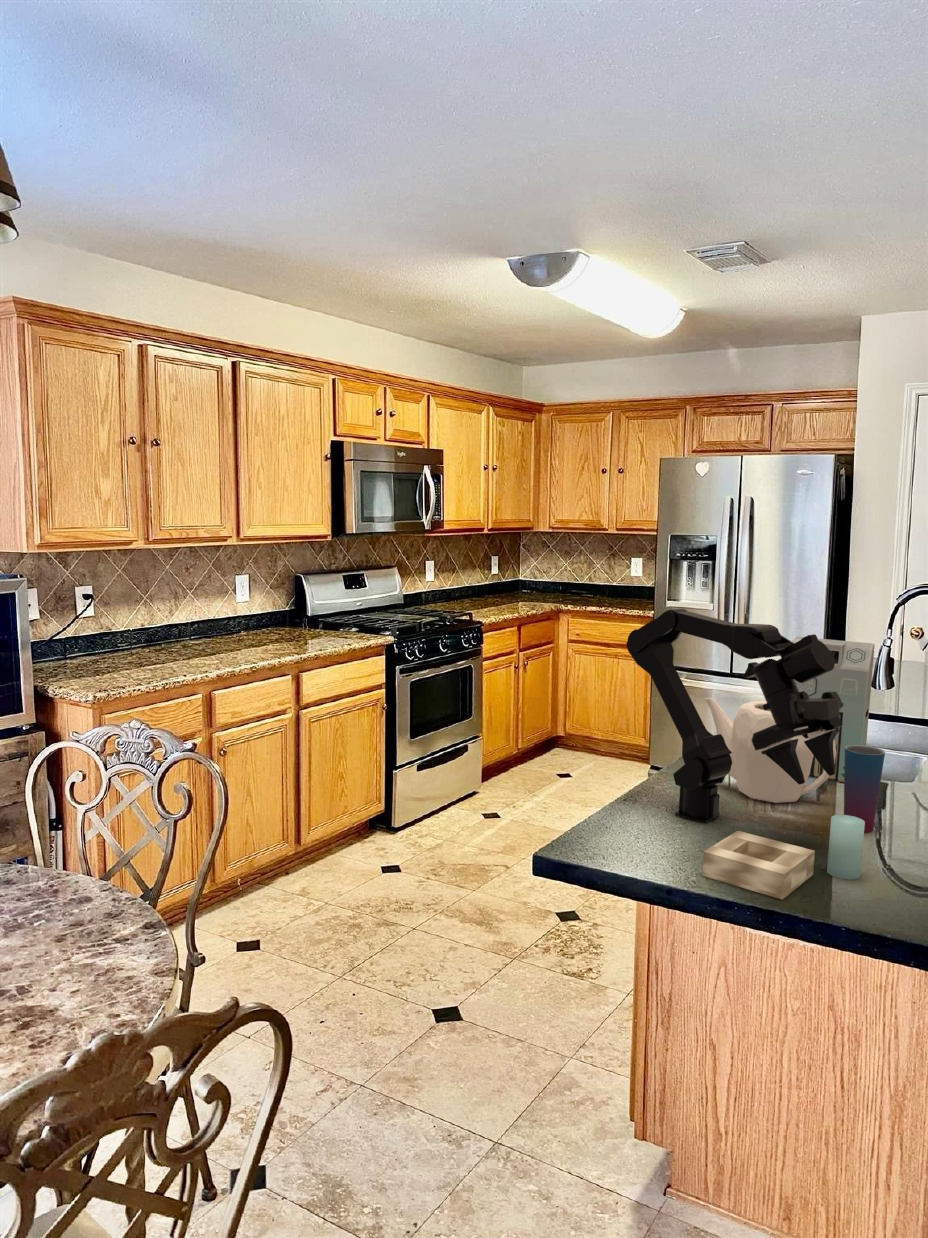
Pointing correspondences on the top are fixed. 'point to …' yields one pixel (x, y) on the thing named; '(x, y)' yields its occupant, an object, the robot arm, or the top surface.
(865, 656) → the device
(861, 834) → the peg
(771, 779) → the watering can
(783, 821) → the top surface
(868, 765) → the cup
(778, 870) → the socket
